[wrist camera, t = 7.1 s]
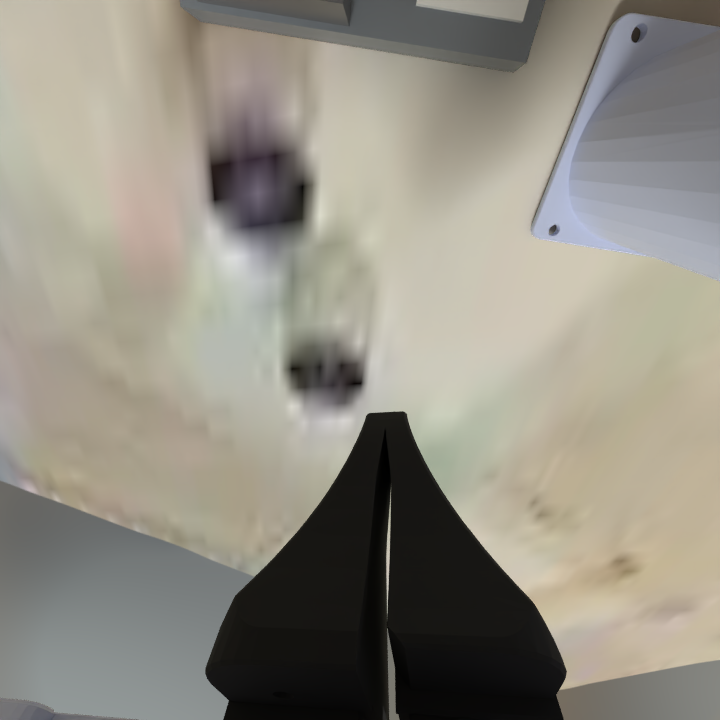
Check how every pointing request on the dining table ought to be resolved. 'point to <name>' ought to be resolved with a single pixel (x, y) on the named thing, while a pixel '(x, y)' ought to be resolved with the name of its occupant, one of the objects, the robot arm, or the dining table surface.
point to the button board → (394, 25)
